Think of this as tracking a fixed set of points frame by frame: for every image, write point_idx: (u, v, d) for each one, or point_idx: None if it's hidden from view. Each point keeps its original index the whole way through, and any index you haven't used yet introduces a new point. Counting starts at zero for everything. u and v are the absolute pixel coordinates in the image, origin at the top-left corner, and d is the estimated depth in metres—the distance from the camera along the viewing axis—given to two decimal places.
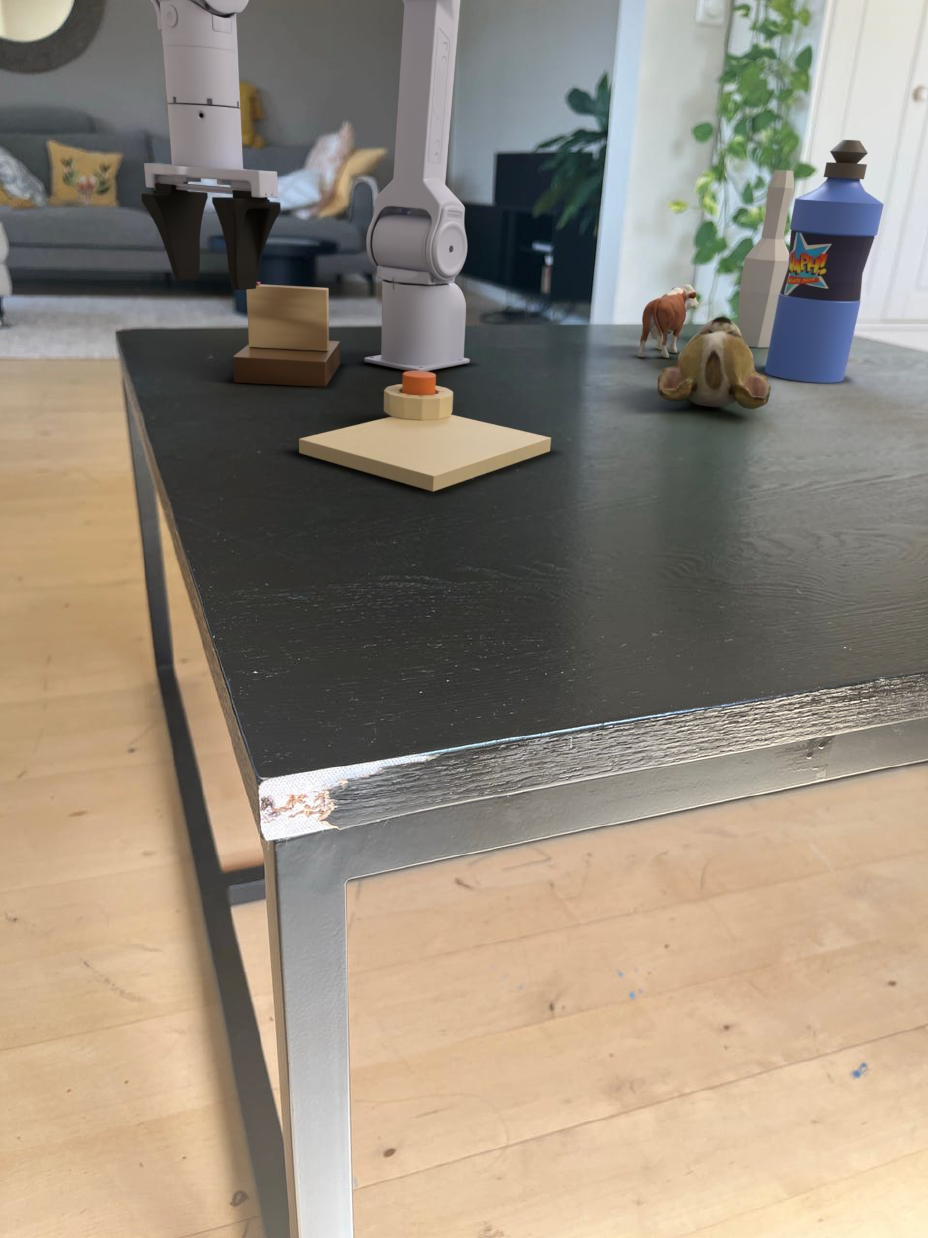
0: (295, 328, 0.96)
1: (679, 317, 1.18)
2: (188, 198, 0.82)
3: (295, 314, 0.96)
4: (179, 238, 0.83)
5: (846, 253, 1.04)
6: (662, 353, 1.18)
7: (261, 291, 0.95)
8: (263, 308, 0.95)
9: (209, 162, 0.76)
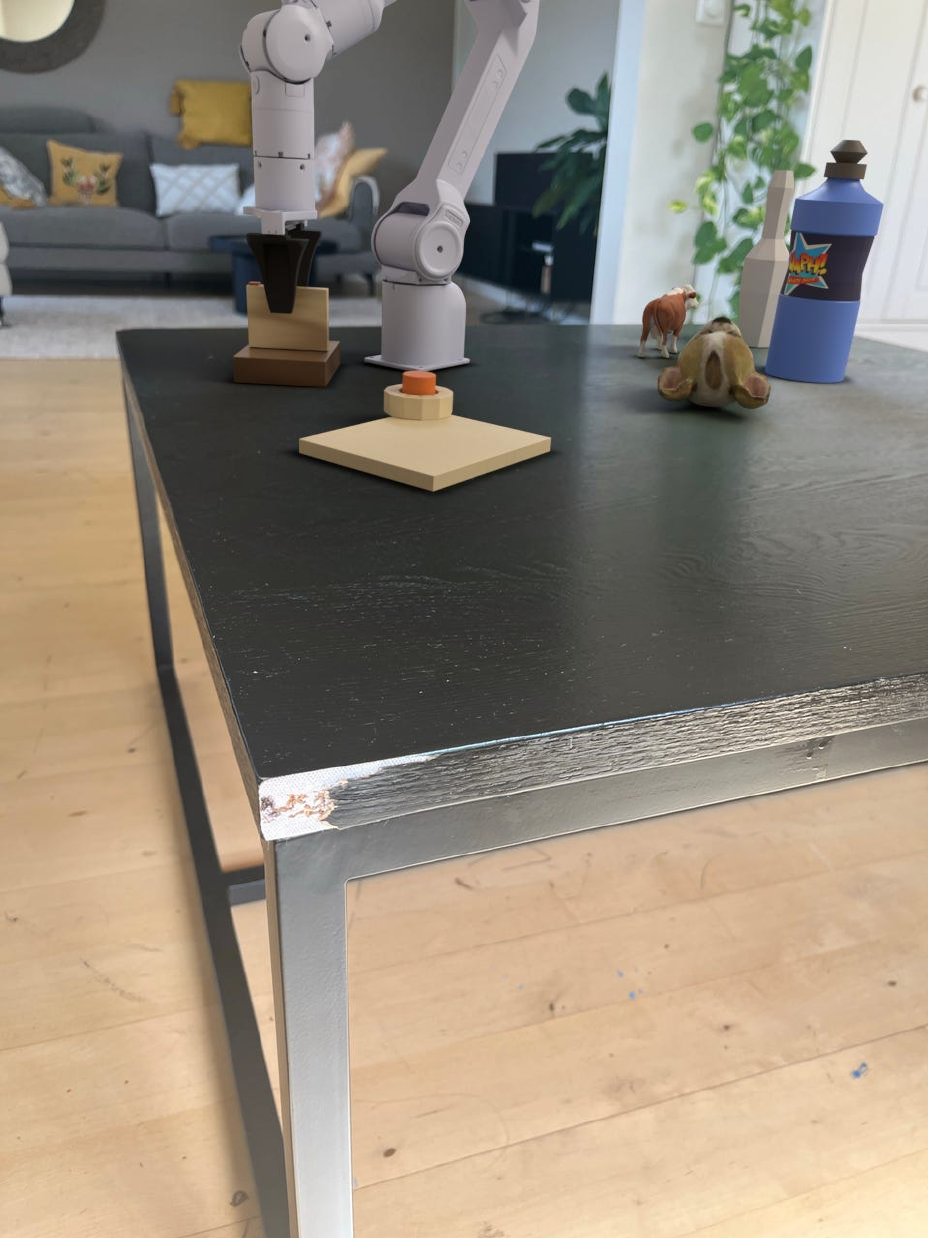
0: (295, 328, 0.96)
1: (679, 317, 1.18)
2: (299, 235, 0.97)
3: (295, 314, 0.96)
4: None
5: (846, 253, 1.04)
6: (662, 353, 1.18)
7: (261, 291, 0.95)
8: (263, 308, 0.95)
9: (263, 204, 0.90)
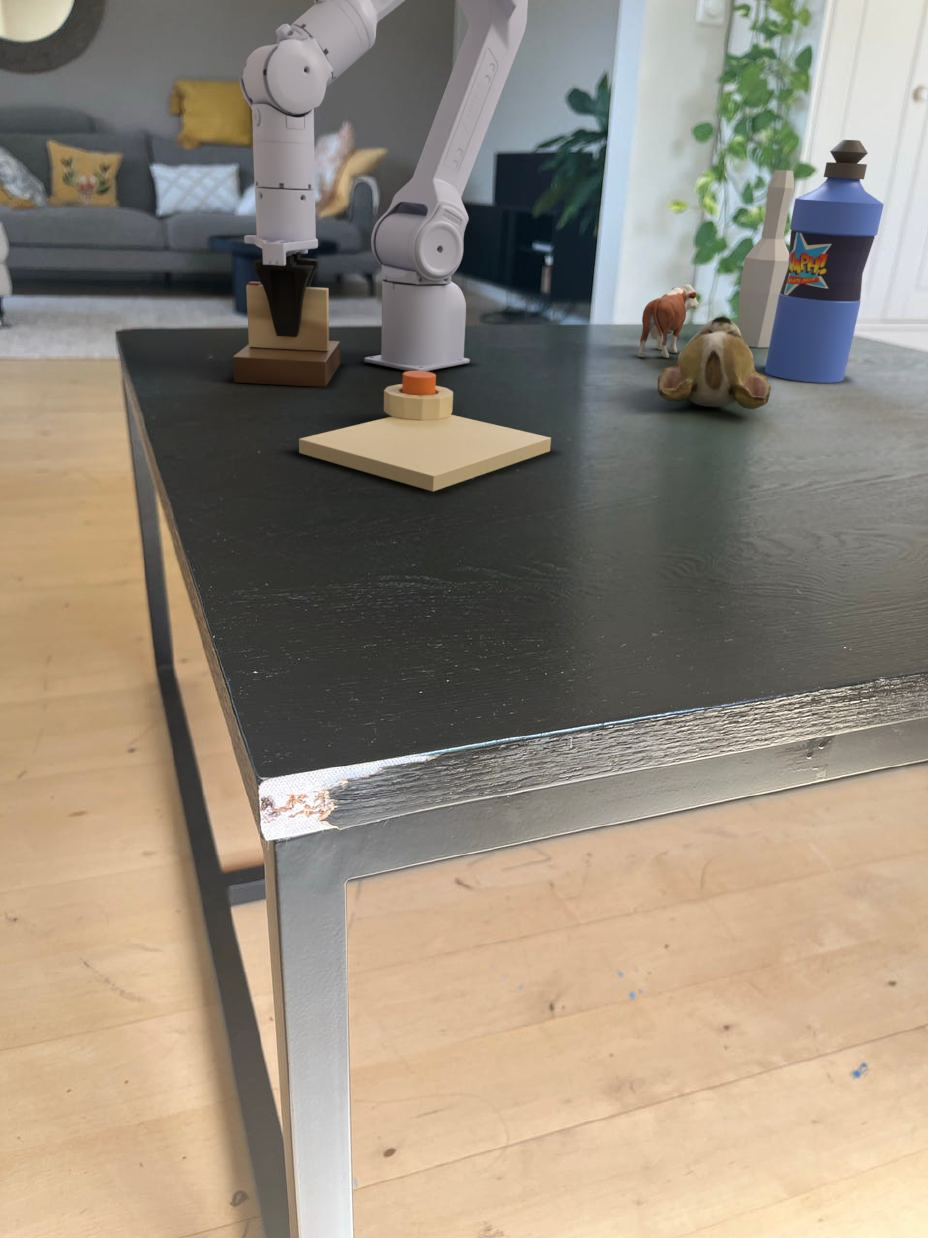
0: None
1: (679, 317, 1.18)
2: (295, 265, 0.95)
3: None
4: None
5: (846, 253, 1.04)
6: (662, 353, 1.18)
7: (261, 291, 0.95)
8: (263, 308, 0.96)
9: (264, 234, 0.91)
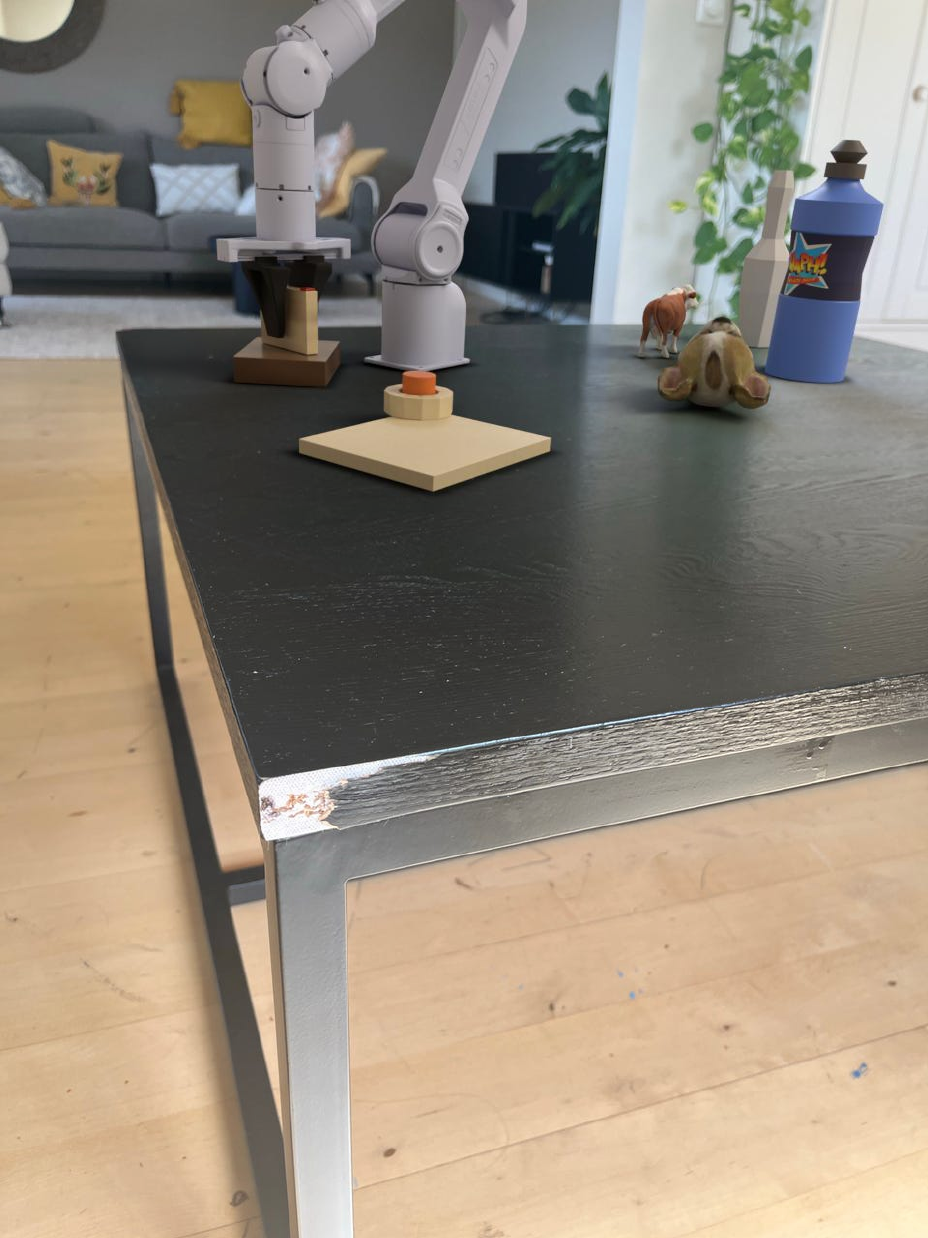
0: None
1: (679, 317, 1.18)
2: None
3: None
4: None
5: (846, 253, 1.04)
6: (662, 353, 1.18)
7: None
8: None
9: (315, 236, 0.94)
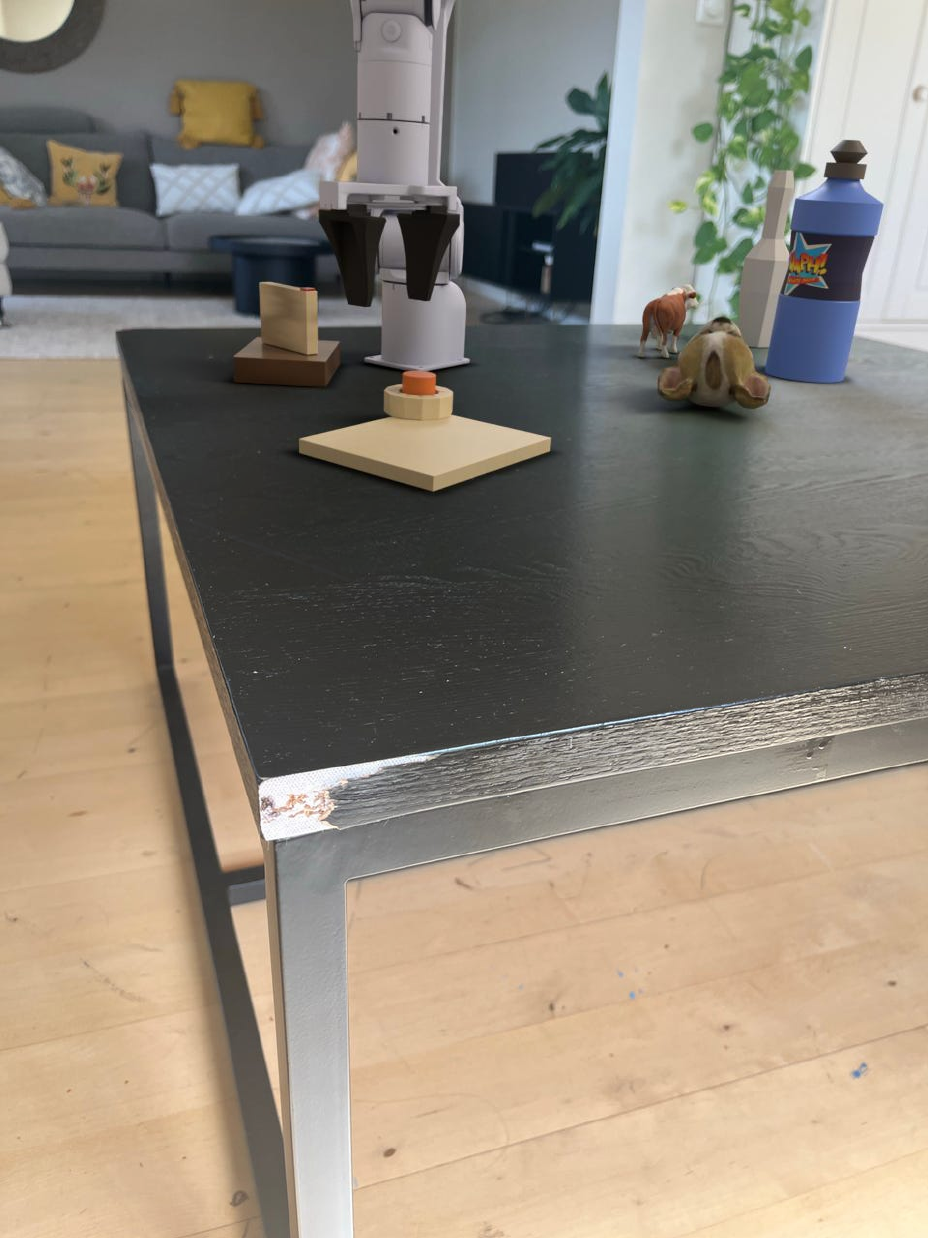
0: None
1: (679, 317, 1.18)
2: None
3: None
4: None
5: (846, 253, 1.04)
6: (662, 353, 1.18)
7: None
8: None
9: None
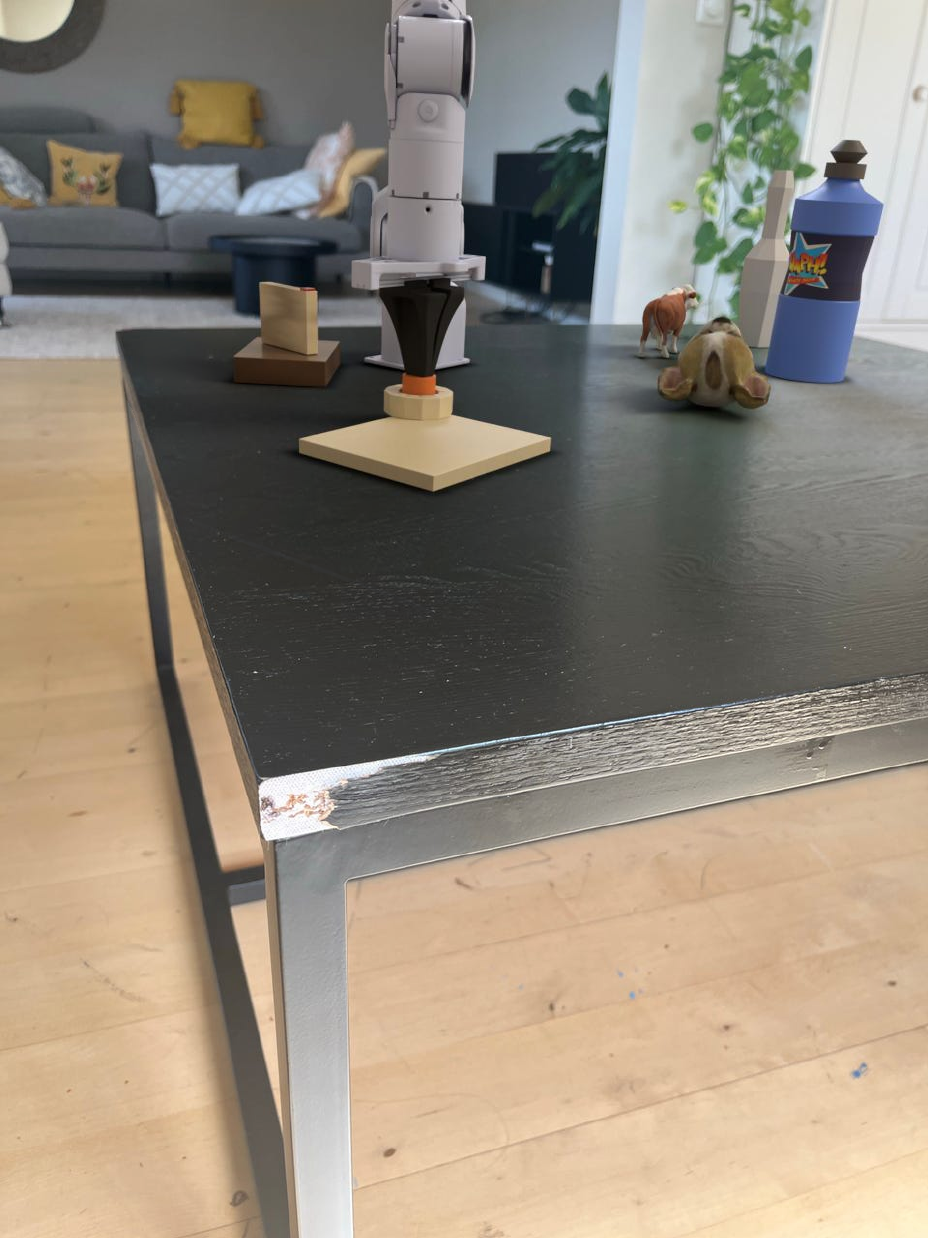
0: None
1: (679, 317, 1.18)
2: None
3: None
4: None
5: (846, 253, 1.04)
6: (662, 353, 1.18)
7: None
8: None
9: None
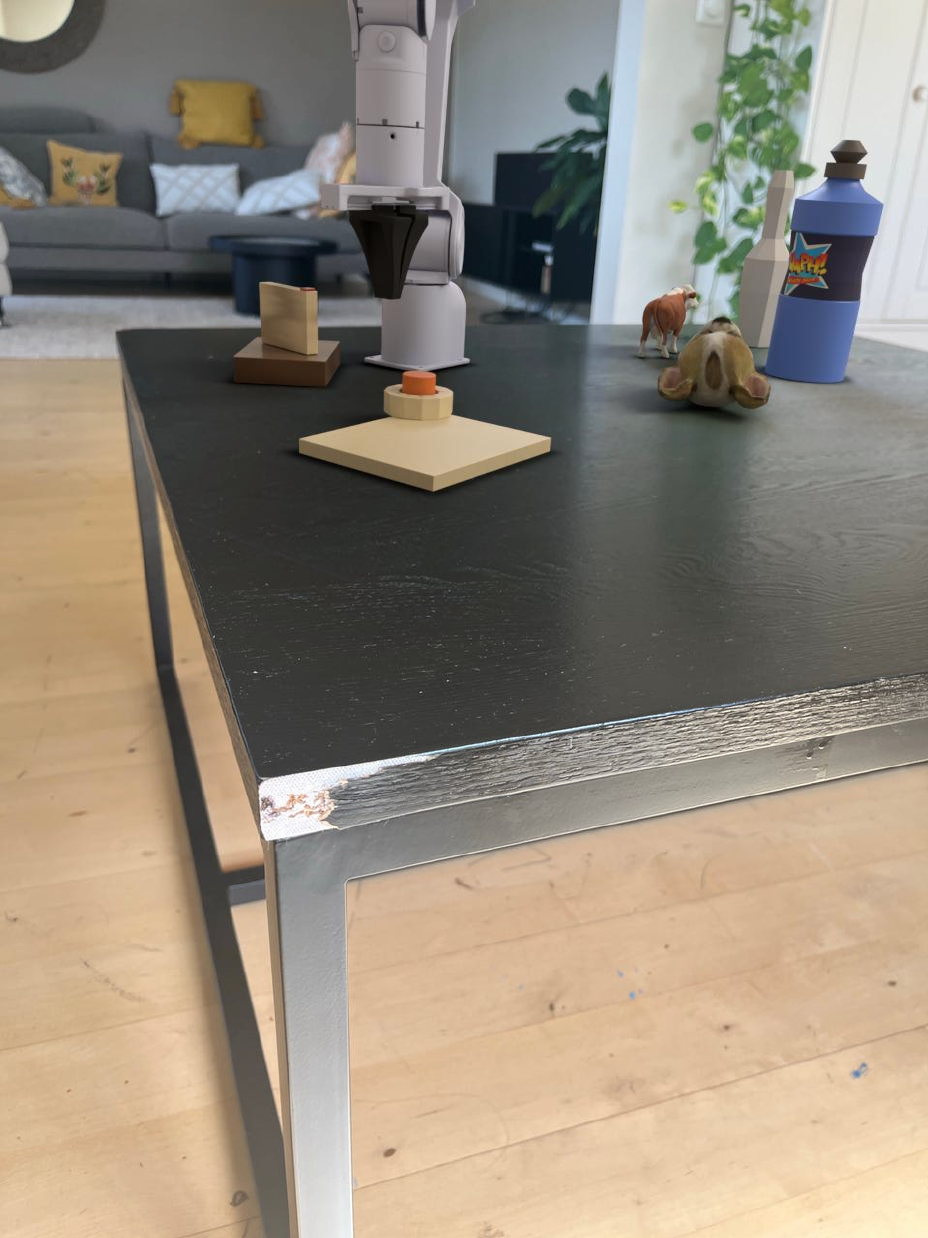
0: None
1: (679, 317, 1.18)
2: None
3: None
4: None
5: (846, 253, 1.04)
6: (662, 353, 1.18)
7: None
8: None
9: None
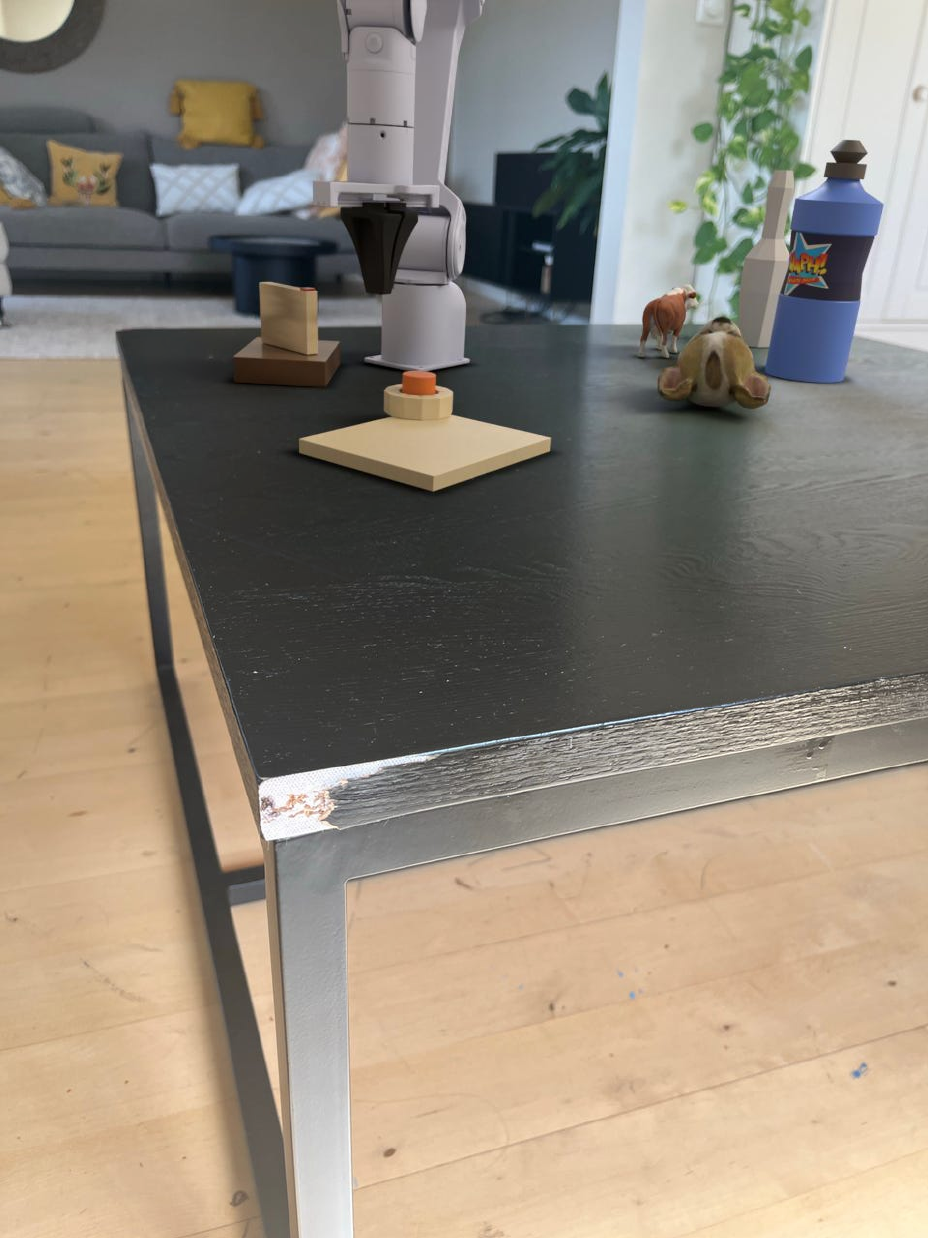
0: None
1: (679, 317, 1.18)
2: None
3: None
4: None
5: (846, 253, 1.04)
6: (662, 353, 1.18)
7: None
8: None
9: None
